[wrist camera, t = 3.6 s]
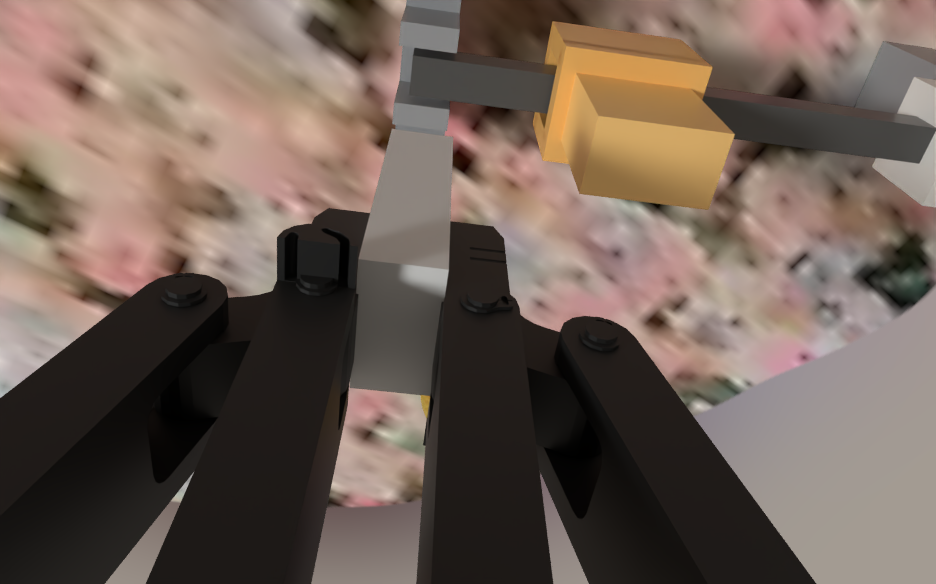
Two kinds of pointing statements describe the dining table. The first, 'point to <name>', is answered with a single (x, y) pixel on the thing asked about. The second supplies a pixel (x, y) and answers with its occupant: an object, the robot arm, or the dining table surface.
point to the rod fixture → (746, 114)
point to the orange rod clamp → (632, 117)
